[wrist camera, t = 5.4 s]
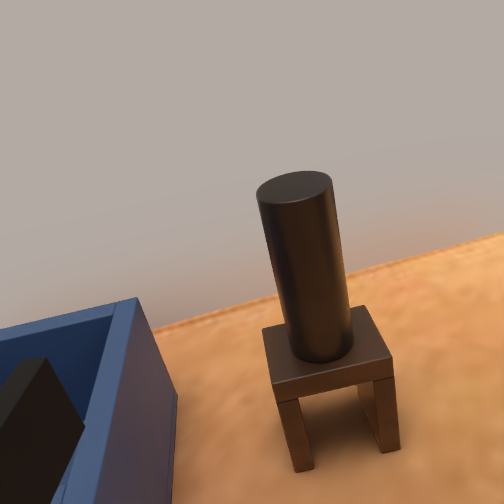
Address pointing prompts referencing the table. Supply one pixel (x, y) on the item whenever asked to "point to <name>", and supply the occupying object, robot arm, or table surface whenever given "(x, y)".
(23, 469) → the robot arm
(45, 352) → the bin
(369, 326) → the peg on small stool
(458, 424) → the table surface
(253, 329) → the table surface
